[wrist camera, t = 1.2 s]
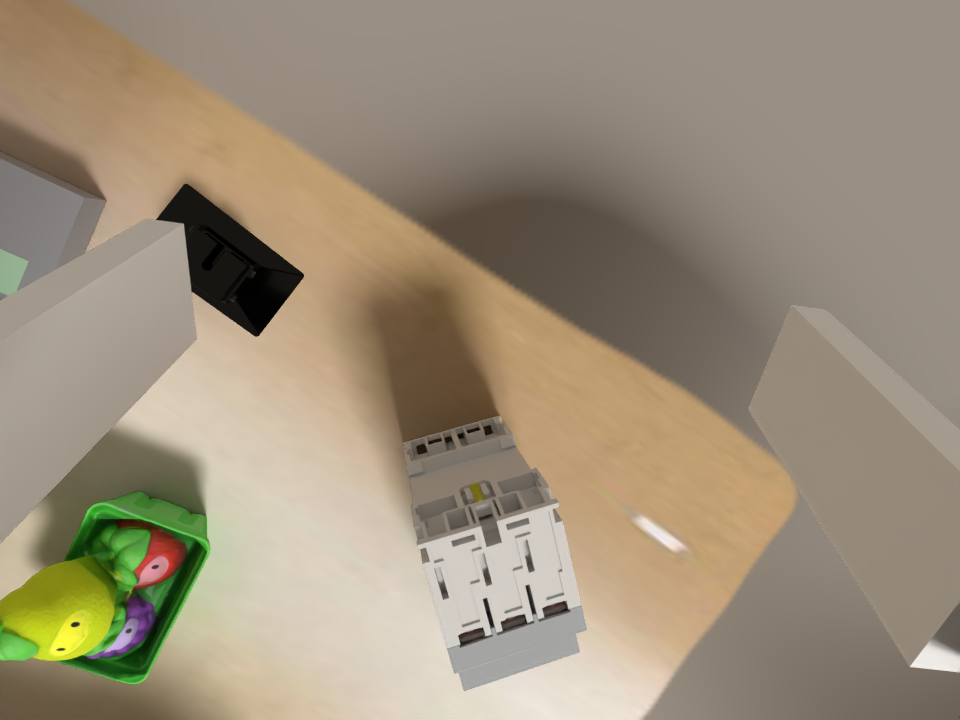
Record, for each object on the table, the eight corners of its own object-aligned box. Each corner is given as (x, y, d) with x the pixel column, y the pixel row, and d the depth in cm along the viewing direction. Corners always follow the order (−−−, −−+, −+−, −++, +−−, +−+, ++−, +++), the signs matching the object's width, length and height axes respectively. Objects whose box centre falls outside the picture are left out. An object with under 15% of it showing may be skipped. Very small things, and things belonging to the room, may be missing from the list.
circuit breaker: (449, 606, 48) (480, 765, 34) (402, 442, 45) (415, 540, 30) (538, 578, 49) (607, 721, 35) (499, 415, 46) (557, 498, 31)
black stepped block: (332, 280, 42) (327, 285, 38) (267, 361, 43) (255, 375, 38) (175, 157, 39) (149, 147, 35) (106, 246, 39) (73, 247, 35)
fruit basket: (167, 640, 45) (101, 769, 34) (42, 599, 43) (-71, 724, 32) (233, 508, 44) (186, 598, 33) (108, 459, 42) (13, 539, 31)
